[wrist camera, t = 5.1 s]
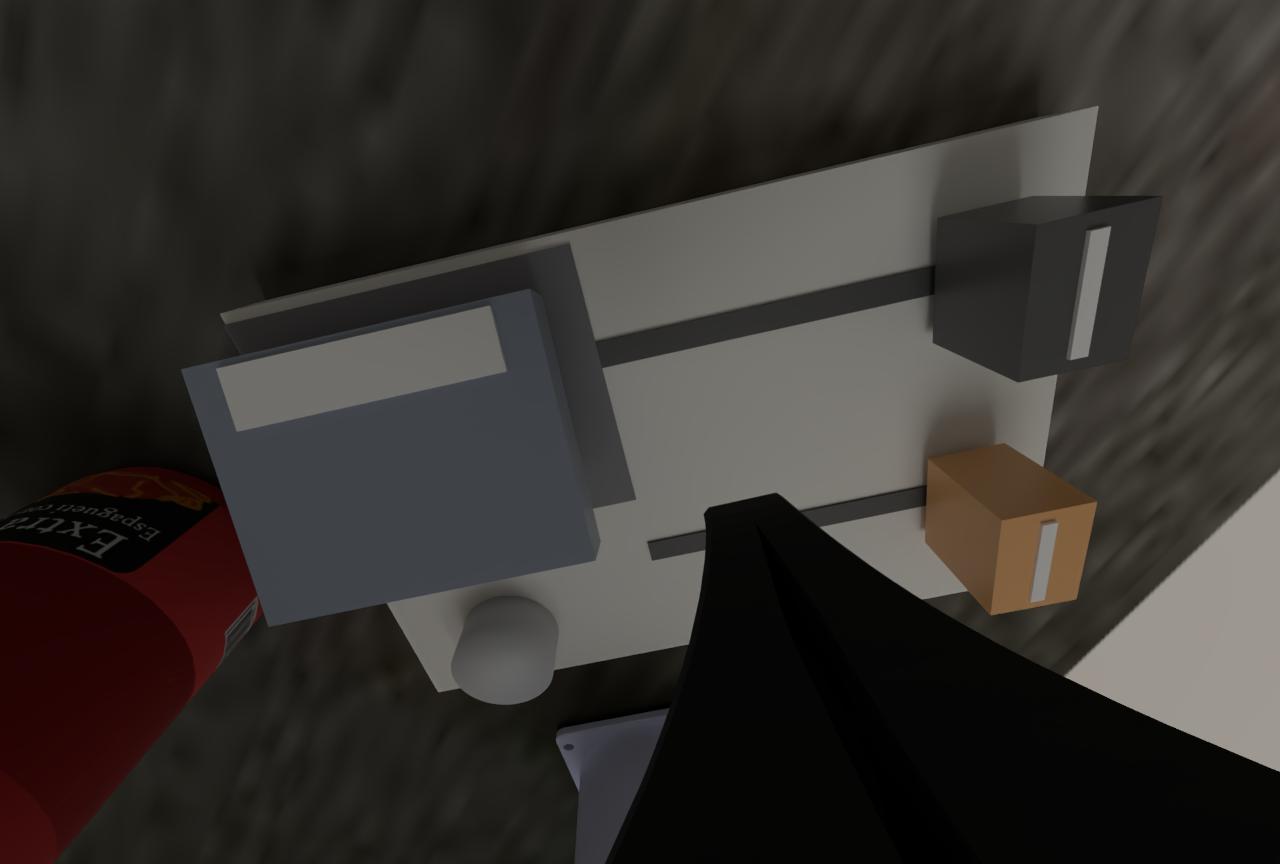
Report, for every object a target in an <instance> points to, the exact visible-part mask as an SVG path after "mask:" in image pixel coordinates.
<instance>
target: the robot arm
mask: <svg viewBox="0 0 1280 864" xmlns="http://www.w3.org/2000/svg"><path fill="white" fill-rule="evenodd" d="M703 515H704V519H705V527H706V547H705V561H704V568H703V575H702V582H701V590H700V596H699V601H698V606H697V610H696V615H695V619H694V624H693V628H692V633H691V637H690V642H689V646H688V649H687V653H686V657H685V660H684V664H683V667H682V671H681V674H680V677H679V680H678V684H677V687H676V690H675V693H674V696H673V699H672V702H671V705H670V708H667V709H661V710H656V711H650V712H645V713H640V714H634V715H629V716H624V717H618V718H613V719H607V720H602V721H597V722H591V723H586V724H580V725H575V726H570V727H564V728H561V729H560V730H558V731H557V733H556V743H557V745H558V747H559V749H560V751H561V754H562V756H563V758H564V760H565V762H566V765H567V767H568V769H569V771H570V773H571V776H572V778H573V780H574V782H575V784H576V787H577V789H578V791H579V801H578V817H577V834H576V850H575V864H1280V772H1279V771H1276V770H1274V769H1271V768H1269V767H1266V766H1264V765H1262V764H1259V763H1257V762H1254V761H1252V760H1250V759H1247V758H1245V757H1242V756H1240V755H1238V754H1235V753H1233V752H1231V751H1228V750H1226V749H1224V748H1221V747H1219V746H1217V745H1214V744H1212V743H1209V742H1207V741H1205V740H1202V739H1200V738H1198V737H1195V736H1193V735H1190V734H1188V733H1186V732H1183V731H1181V730H1179V729H1176V728H1174V727H1171V726H1169V725H1167V724H1164V723H1162V722H1160V721H1158V720H1156V719H1153V718H1151V717H1149V716H1147V715H1144V714H1142V713H1140V712H1138V711H1135V710H1133V709H1131V708H1129V707H1127V706H1124V705H1122V704H1120V703H1118V702H1115V701H1113V700H1111V699H1109V698H1107V697H1105V696H1103V695H1101V694H1099V693H1097V692H1095V691H1093V690H1091V689H1088V688H1086V687H1084V686H1082V685H1080V684H1078V683H1076V682H1074V681H1072V680H1070V679H1067V678H1065V677H1063V676H1061V675H1059V674H1057V673H1055V672H1053V671H1051V670H1049V669H1047V668H1045V667H1042V666H1040V665H1038V664H1036V663H1034V662H1032V661H1030V660H1028V659H1026V658H1024V657H1023V656H1021V655H1019V654H1017V653H1015V652H1013V651H1011V650H1009V649H1007V648H1005V647H1003V646H1001V645H999V644H997V643H996V642H994V641H992V640H990V639H989V638H987V637H985V636H983V635H981V634H980V633H978V632H976V631H974V630H972V629H971V628H969V627H967V626H965V625H963V624H962V623H960V622H958V621H956V620H955V619H953V618H951V617H950V616H948V615H946V614H945V613H943V612H941V611H940V610H938V609H936V608H935V607H933V606H931V605H930V604H928V603H927V602H925V601H923V600H922V599H920V598H919V597H917V596H915V595H914V594H912V593H911V592H909V591H908V590H906V589H905V588H903V587H902V586H900V585H899V584H897V583H896V582H894V581H892V580H891V579H889V578H888V577H887V576H885V575H884V574H882V573H881V572H879V571H878V570H876V569H875V568H873V567H872V566H871V565H869V564H868V563H866V562H865V561H864V560H862V559H861V558H860V557H858V556H857V555H856V554H854V553H853V552H851V551H850V550H849V549H847V548H846V547H845V546H843V545H842V544H840V543H839V542H838V541H837V540H835V539H834V538H833V537H831V536H830V535H829V534H827V533H826V532H825V531H824V530H822V529H821V528H820V527H819V526H817V525H816V524H815V523H814V522H812V521H811V520H810V519H809V518H808V517H806V516H805V515H804V514H803V513H802V512H800V511H799V510H798V509H797V508H796V507H794V506H793V505H792V504H791V503H790V502H789V501H787V500H786V499H785V498H784V497H783V496H781V495H780V494H778V493H777V492H776V493H771V494H767V495H762V496H758V497H753V498H749V499H744V500H740V501H735V502H731V503H726V504H721V505H717V506H712V507H708V509H707V510H706V511H705V513H704V514H703Z"/></svg>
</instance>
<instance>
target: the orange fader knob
mask: <svg viewBox="0 0 1280 864" xmlns="http://www.w3.org/2000/svg"><path fill="white" fill-rule="evenodd" d="M1096 506H1097V501H1095V500H1094V499H1092V498H1091V497H1089V496H1088V495H1086V494H1084V493H1083V492H1081V491H1080V490H1078V489H1077V488H1075V487H1073V486H1072V485H1070V484H1069V483H1067V482H1066V481H1064V480H1062V479H1061V478H1059V477H1058V476H1056V475H1054V474H1053V473H1051V472H1050V471H1048V470H1047V469H1045V468H1043V467H1042V466H1040V465H1039V464H1037V463H1036V462H1034V461H1032V460H1031V459H1029V458H1028V457H1026V456H1025V455H1023V454H1021V453H1020V452H1018V451H1017V450H1015V449H1014V448H1012V447H1010V446H1009V445H1007V444H1006V443H1002V444H997V445H992V446H987V447H982V448H977V449H973V450H968V451H963V452H958V453H953V454H948V455H943V456H939V457H934V458H929V459H928V473H927V499H926V525H925V543H926V544H927V545H928V546H929V547H930V548H931V549H932V551H933V552H934V553H935V554H936V555H937V556H938V557H939V558H940V560H941V561H942V562H943V563H944V564H945V565H946V566H947V567H948V569H949V570H950V571H951V572H952V573H953V574H954V575H955V576H956V577H957V579H958V580H959V581H960V582H961V583H962V584H963V585H964V586H965V588H966V589H967V590H968V591H969V592H970V593H971V594H972V595H973V596H974V598H975V599H976V600H977V601H978V602H979V603H980V604H981V605H982V607H983V608H984V609H985V610H986V611H987V612H988V613H989V614H990V615H996V614H1001V613H1006V612H1012V611H1017V610H1022V609H1028V608H1033V607H1038V606H1043V605H1049V604H1054V603H1059V602H1065V601H1070V600H1075V599H1077V594H1078V589H1079V585H1080V580H1081V575H1082V571H1083V566H1084V561H1085V557H1086V552H1087V547H1088V543H1089V538H1090V534H1091V529H1092V524H1093V520H1094V515H1095V510H1096Z"/></svg>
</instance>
